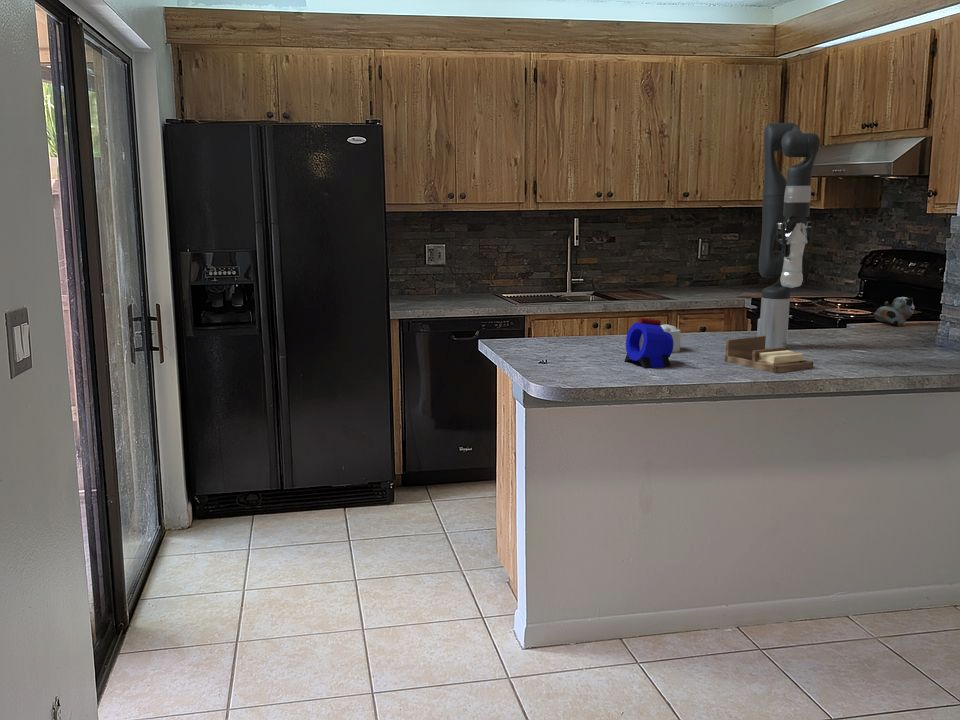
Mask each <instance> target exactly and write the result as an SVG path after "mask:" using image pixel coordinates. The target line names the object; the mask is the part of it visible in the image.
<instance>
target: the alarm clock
mask: <svg viewBox="0 0 960 720" xmlns="http://www.w3.org/2000/svg"><path fill="white" fill-rule="evenodd" d="M661 323H662V322H661V320H660V319H655V318H648V317H641V316H640V317H638V320H637V321H636V322H635V323H633V324H632V325H631V326H630V327H629V329H628V332H627V334H626V338H625V350H626V356H625V359H624V363H626V362H634V361H635V362H638V363H639V364H640V365H641V366H642V367H643V369H645V370H647V369H657V368H659V369H661V368H669V367H672V366H671V364H670V363H671V362H670V359H669V358H670V357H671V356H672V354H673V352H672V351H673V345H674V343H673V338H672V335H671V334H670V333H668V332H664V330H663V328H662V327H661V325H662V324H661Z"/></svg>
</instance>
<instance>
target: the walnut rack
mask: <svg viewBox="0 0 960 720" xmlns="http://www.w3.org/2000/svg"><path fill="white" fill-rule="evenodd" d="M765 341H766V336H757V335H756V336H750V337H749V336H747V337H742V338H741V337H739V338H731V339H726V340H725V354H724V355H725V357H724V362H726V363H730V364H733V365H739V366H742V367H743V366H744V367H747V368H751V369H756V370H760V371H763V372H768V373H773V374H779V373H786V372H793V371H799V370H807V369H813V368H814V361H810V360H806V359H803V361H800V363H795V364H788V365H780V366H774V365H770V364H765V363H761V362H757V360H758V359H759V353H764V352H775V351H786V349H787V346H786V347H779V348H771V349H766V348H765Z"/></svg>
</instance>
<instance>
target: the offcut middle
mask: <svg viewBox="0 0 960 720" xmlns="http://www.w3.org/2000/svg"><path fill="white" fill-rule="evenodd" d="M757 362H761V363H765V364H770V365H774V366H780V365H788V364H795V363H800V361H793V362H783V363H771V362H767V361H763V360H759V359H758V360H757Z"/></svg>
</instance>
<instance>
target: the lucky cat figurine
mask: <svg viewBox="0 0 960 720" xmlns="http://www.w3.org/2000/svg"><path fill="white" fill-rule="evenodd" d="M883 304H884V305H882V306H880V307H878V308H877V309H876V311H875V312H873V313H872V314H873V316H874V319H875V320H876V321H878V322H879V323H888V324H890V325H894V326H895V327H903V326H904V327H905V326H906V323H907V320H908V319H909V318H911V316H913V314H914V310H915V308H916V307H915V305H914V300H913V297H905V296H901V297H900V296H899V297H896V298H894V299H893V301H892V303H891V304H890V302H889V301H887V300H886V301H885V302H884V303H883Z"/></svg>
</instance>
